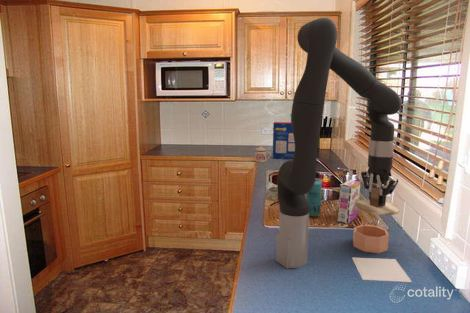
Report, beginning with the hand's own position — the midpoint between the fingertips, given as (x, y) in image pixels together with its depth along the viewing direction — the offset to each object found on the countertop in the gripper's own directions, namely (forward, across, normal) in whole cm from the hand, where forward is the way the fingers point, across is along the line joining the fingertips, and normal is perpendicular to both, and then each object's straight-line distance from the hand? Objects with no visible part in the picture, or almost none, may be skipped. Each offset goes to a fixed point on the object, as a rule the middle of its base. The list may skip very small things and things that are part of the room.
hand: (376, 203), depth 122 cm
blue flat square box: (+18, -144, +74) cm, 163 cm away
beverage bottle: (+18, -36, +4) cm, 40 cm away
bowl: (+17, -3, +2) cm, 18 cm away
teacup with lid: (+18, -145, +49) cm, 154 cm away
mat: (+17, +10, -9) cm, 22 cm away
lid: (+2, 0, 0) cm, 2 cm away
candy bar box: (+18, -26, +15) cm, 35 cm away
